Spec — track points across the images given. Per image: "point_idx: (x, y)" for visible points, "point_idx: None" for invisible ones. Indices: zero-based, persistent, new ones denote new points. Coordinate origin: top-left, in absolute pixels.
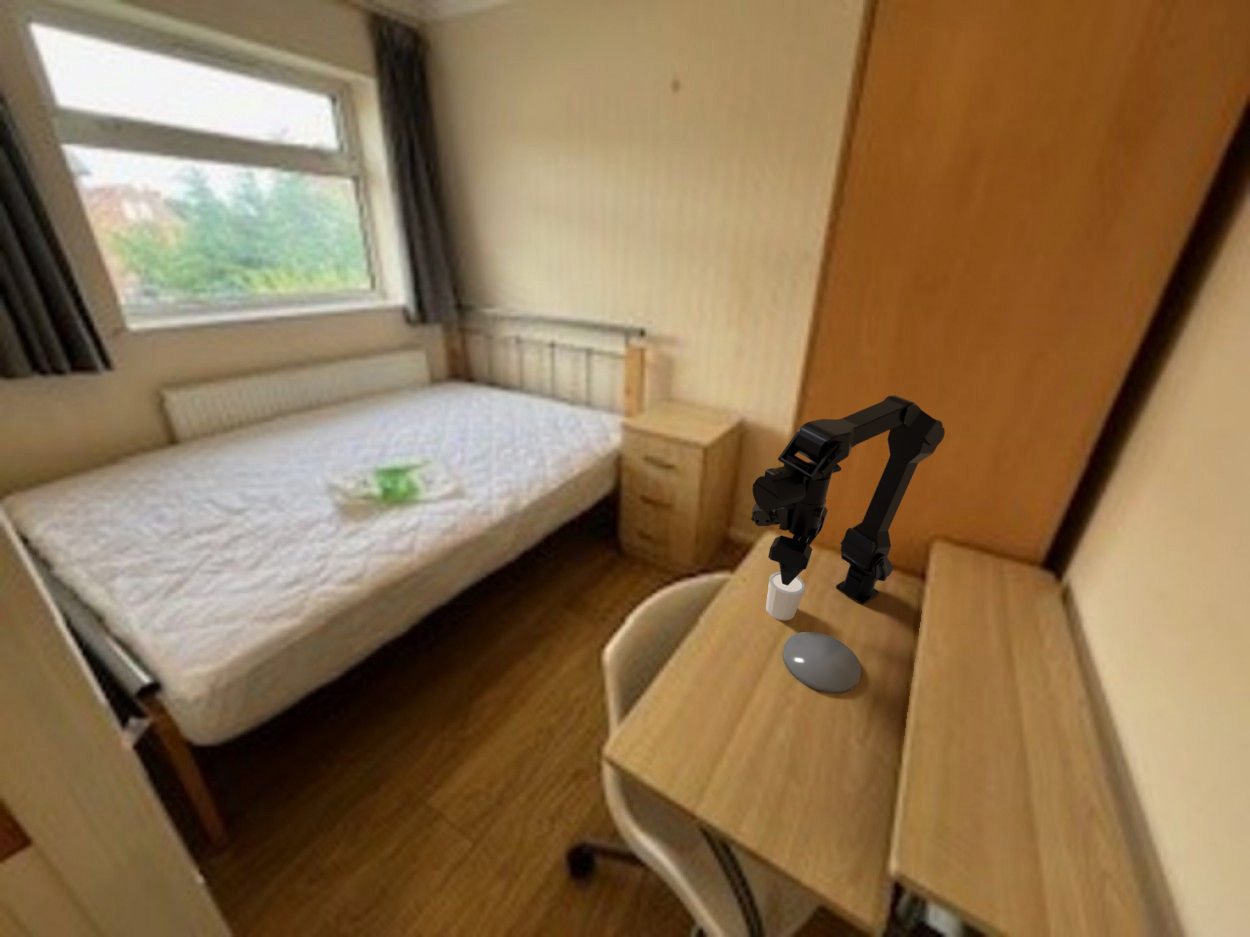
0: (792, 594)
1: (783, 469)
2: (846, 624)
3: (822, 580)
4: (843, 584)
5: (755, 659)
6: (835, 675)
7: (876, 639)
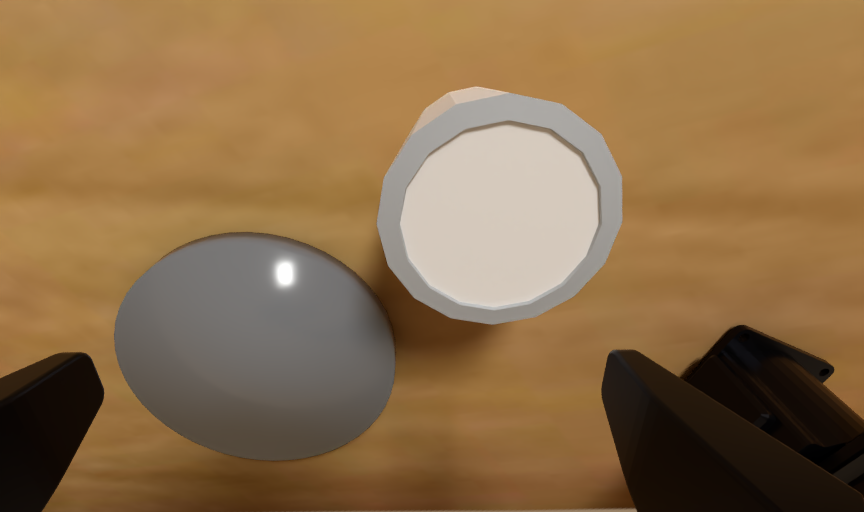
0: (399, 276)
1: None
2: (522, 383)
3: (778, 271)
4: (762, 349)
5: (91, 147)
6: (212, 410)
7: (494, 456)
